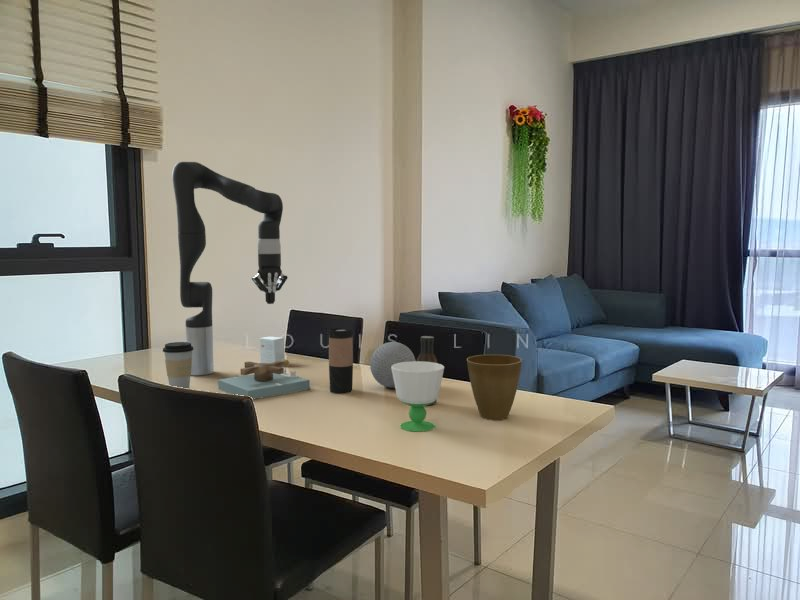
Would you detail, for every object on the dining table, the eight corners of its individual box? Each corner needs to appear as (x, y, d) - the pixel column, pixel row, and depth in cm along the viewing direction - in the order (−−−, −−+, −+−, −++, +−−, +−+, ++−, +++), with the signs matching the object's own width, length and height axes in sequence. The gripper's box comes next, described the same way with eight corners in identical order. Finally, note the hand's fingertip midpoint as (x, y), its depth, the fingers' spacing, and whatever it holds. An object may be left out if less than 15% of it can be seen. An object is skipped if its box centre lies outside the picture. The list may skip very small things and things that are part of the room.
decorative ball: (415, 393, 195) (415, 346, 194) (368, 392, 196) (367, 345, 195) (416, 382, 210) (416, 338, 209) (372, 381, 211) (372, 338, 210)
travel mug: (334, 395, 193) (333, 331, 191) (325, 389, 200) (325, 328, 198) (356, 392, 196) (356, 330, 194) (347, 387, 203) (347, 327, 201)
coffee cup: (184, 394, 194) (183, 346, 192) (157, 392, 196) (156, 345, 194) (200, 387, 203) (199, 342, 202) (174, 385, 205) (172, 341, 203)
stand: (218, 388, 201) (217, 373, 200) (277, 378, 215) (277, 364, 215) (249, 400, 185) (248, 384, 185) (310, 389, 200) (310, 374, 200)
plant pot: (499, 406, 179) (500, 352, 178) (532, 419, 166) (533, 361, 165) (455, 413, 173) (456, 356, 171) (486, 427, 159) (487, 366, 158)
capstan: (260, 387, 188) (260, 371, 188) (225, 379, 199) (225, 364, 198) (305, 376, 204) (305, 361, 203) (271, 370, 214) (271, 356, 213)
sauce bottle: (435, 406, 179) (435, 338, 177) (414, 405, 181) (414, 338, 179) (438, 401, 185) (439, 335, 184) (418, 400, 187) (418, 334, 185)
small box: (285, 364, 241) (284, 337, 240) (275, 366, 237) (274, 339, 236) (270, 362, 246) (269, 336, 245) (259, 364, 241) (259, 337, 240)
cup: (404, 437, 151) (404, 373, 150) (383, 422, 163) (383, 363, 162) (453, 430, 156) (454, 369, 155) (429, 416, 169) (429, 359, 167)
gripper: (257, 253, 201) (258, 306, 202) (292, 252, 209) (293, 303, 211) (246, 252, 206) (247, 304, 208) (280, 252, 215) (281, 301, 217)
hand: (270, 303), depth 210 cm, fingers closed
